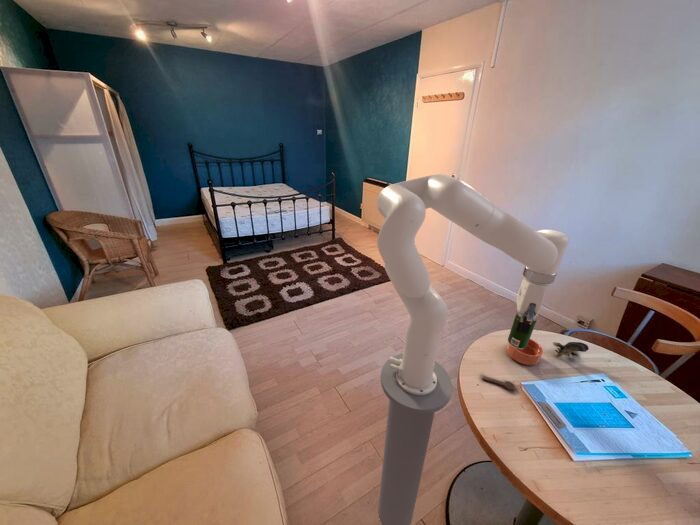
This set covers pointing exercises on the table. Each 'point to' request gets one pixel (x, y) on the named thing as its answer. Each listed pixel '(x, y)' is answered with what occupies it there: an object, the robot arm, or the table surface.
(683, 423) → the table surface
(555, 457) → the table surface
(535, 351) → the bowl
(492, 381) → the spoon
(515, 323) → the beer can
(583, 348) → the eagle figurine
